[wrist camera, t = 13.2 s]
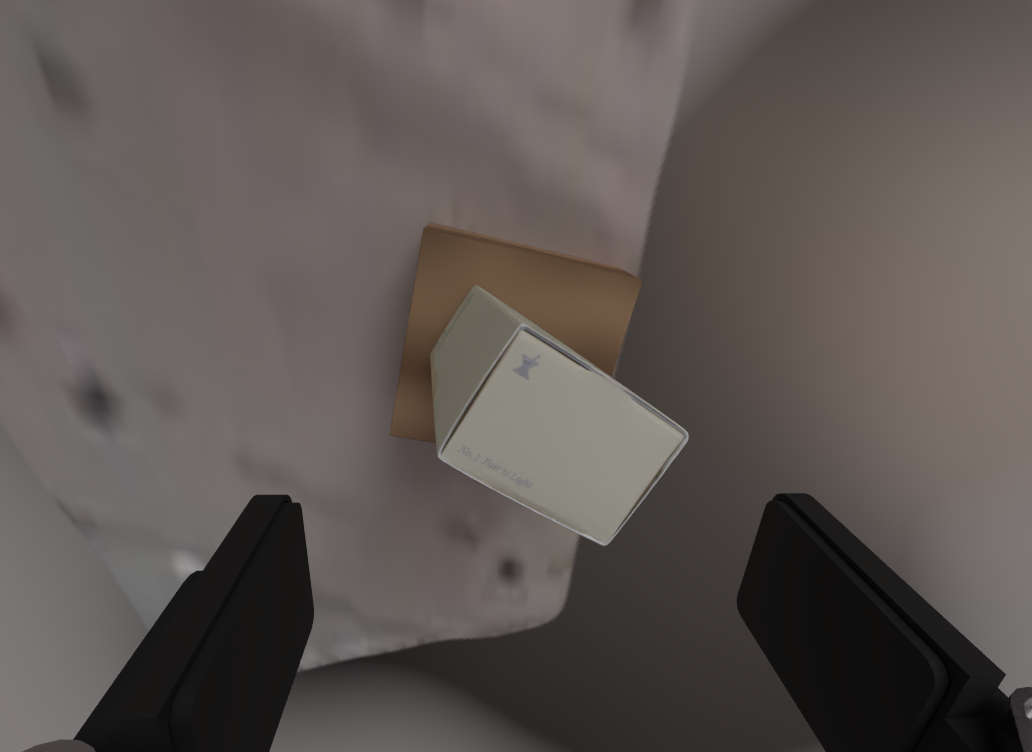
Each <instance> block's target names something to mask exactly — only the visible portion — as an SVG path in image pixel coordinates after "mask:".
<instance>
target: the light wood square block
mask: <svg viewBox="0 0 1032 752" xmlns="http://www.w3.org/2000/svg"><path fill="white" fill-rule="evenodd" d="M641 284H642V280H641V279H639V278H637V277H635V276H633V275H631V274H629V273H627V272H626V271H624V270H622V269H620V268H618V267H615V266H611V265H607V264H602V263H598V262H594V261H590V260H586V259H581V258H577V257H573V256H569V255H565V254H561V253H556V252H552V251H548V250H544V249H540V248H535V247H531V246H527V245H523V244H519V243H515V242H510V241H506V240H502V239H498V238H494V237H489V236H485V235H481V234H477V233H473V232H469V231H464V230H460V229H456V228H452V227H448V226H443V225H439V224H435V223H430V224H429V225H428V226H426V227H425V228H424V230H423V236H422V242H421V248H420V254H419V260H418V266H417V272H416V278H415V284H414V290H413V296H412V302H411V308H410V314H409V320H408V326H407V332H406V338H405V344H404V350H403V357H402V363H401V369H400V375H399V381H398V387H397V393H396V399H395V405H394V411H393V417H392V423H391V429H390V435H391V436H397V437H403V438H409V439H415V440H421V441H427V442H433V443H436V436H435V424H434V409H433V395H432V378H431V362H430V353H431V351H432V349H433V348H434V346H435V345H436V343H437V341H438V340H439V338H440V336H441V335H442V333H443V331H444V330H445V328H446V327H447V325H448V324H449V322H450V321H451V319H452V317H453V316H454V314H455V313H456V311H457V310H458V308H459V307H460V305H461V304H462V302H463V301H464V299H465V298H466V297H467V295H468V294H469V292H470V291H471V289H472V288H473V287H474V286H475V285H477V286H479V287H481V288H482V289H484V290H485V291H487V292H488V293H490V294H491V295H493V296H495V297H496V298H498V299H499V300H501V301H502V302H504V303H505V304H507V305H508V306H510V307H511V308H513V309H514V310H516V311H517V312H518V313H520V314H521V315H523V316H524V317H526V318H527V319H529V320H530V321H532V322H533V323H535V324H536V325H537V326H539V327H540V328H542V329H543V330H545V331H546V332H547V333H549V334H550V335H552V336H553V337H555V338H556V339H558V340H559V341H561V342H562V343H563V344H565V345H566V346H568V347H569V348H571V349H572V350H573V351H575V352H576V353H578V354H579V355H580V356H582V357H583V358H585V359H586V360H588V361H589V362H590V363H592V364H593V365H595V366H596V367H597V368H599V369H600V370H602V371H603V372H605V373H606V374H607V375H609V376H610V377H611V376H612V373H613V370H614V367H615V364H616V361H617V358H618V355H619V351H620V348H621V345H622V342H623V339H624V336H625V333H626V330H627V327H628V324H629V321H630V318H631V315H632V311H633V308H634V305H635V302H636V299H637V296H638V293H639V290H640V287H641Z"/></svg>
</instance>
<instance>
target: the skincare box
mask: <svg viewBox="0 0 1032 752" xmlns="http://www.w3.org/2000/svg"><path fill="white" fill-rule="evenodd" d="M430 362H431V378H432V395H433V409H434V424H435V436H436V451H437V457H438V458H439V459H440V460H442V461H443V462H445V463H446V464H448V465H450V466H452V467H453V468H455V469H456V470H458V471H460V472H462V473H464V474H465V475H467V476H468V477H470V478H472V479H474V480H476V481H477V482H479V483H481V484H483V485H485V486H487V487H488V488H490V489H492V490H494V491H496V492H498V493H500V494H501V495H503V496H505V497H507V498H509V499H511V500H513V501H514V502H516V503H518V504H520V505H523V506H525V507H526V508H528V509H530V510H532V511H534V512H536V513H537V514H540V515H542V516H544V517H546V518H548V519H550V520H552V521H554V522H556V523H558V524H559V525H561V526H564V527H566V528H568V529H570V530H572V531H574V532H576V533H578V534H580V535H582V536H584V537H585V538H588V539H590V540H592V541H594V542H597V543H599V544H601V545H603V546H605V545H608V544H609V542H611V540H612V539H613V538H614V536H615V535H616V534H617V533H618V532H619V530H620V529H621V528H622V526H623V525H624V524H625V522H626V521H627V520H628V519H629V517H630V516H631V515H632V514H633V512H634V511H635V510H636V508H637V507H638V506H639V505H640V503H641V502H642V501H643V499H644V498H645V497H646V496H647V494H648V493H649V492H650V490H651V489H652V488H653V486H654V485H655V484H656V483H657V481H658V480H659V479H660V477H661V476H662V475H663V473H664V472H665V471H666V469H667V468H668V467H669V465H670V464H671V462H672V461H673V460H674V459H675V457H676V456H677V455H678V454H679V452H680V451H681V449H682V448H683V447H684V445H685V444H686V442H687V441H688V438H689V436H688V432H686V430H685V429H683V428H682V427H681V426H679V425H678V424H677V423H675V422H674V421H673V420H671V419H670V418H668V417H667V416H666V415H664V414H663V413H661V412H660V411H659V410H657V409H656V408H654V407H653V406H652V405H650V404H649V403H647V402H646V401H644V400H643V399H642V398H640V397H639V396H637V395H636V394H634V393H633V392H632V391H630V390H629V389H627V388H626V387H625V386H623V385H622V384H620V383H619V382H617V381H616V380H615V379H613V378H612V377H610V376H609V375H607V374H606V373H605V372H603V371H602V370H600V369H599V368H597V367H596V366H595V365H593V364H592V363H590V362H589V361H588V360H586V359H585V358H583V357H582V356H580V355H579V354H578V353H576V352H575V351H573V350H572V349H571V348H569V347H568V346H566V345H565V344H563V343H562V342H561V341H559V340H558V339H556V338H555V337H553V336H552V335H550V334H549V333H547V332H546V331H545V330H543V329H542V328H540V327H539V326H537V325H536V324H535V323H533V322H532V321H530V320H529V319H527V318H526V317H524V316H523V315H521V314H520V313H518V312H517V311H516V310H514V309H513V308H511V307H510V306H508V305H507V304H505V303H504V302H502V301H501V300H499V299H498V298H496V297H495V296H493V295H491V294H490V293H488V292H487V291H485V290H484V289H482V288H481V287H479V286H477V285H475V286H474V287H473V288H472V289H471V291H470V292H469V294H468V295H467V297H466V298H465V299H464V301H463V302H462V304H461V305H460V307H459V308H458V310H457V311H456V313H455V314H454V316H453V317H452V319H451V321H450V322H449V324H448V325H447V327H446V328H445V330H444V331H443V333H442V335H441V336H440V338H439V340H438V341H437V343H436V345H435V346H434V348H433V349H432V351H431V353H430Z"/></svg>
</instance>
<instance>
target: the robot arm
mask: <svg viewBox="0 0 1032 752" xmlns="http://www.w3.org/2000/svg"><path fill="white" fill-rule="evenodd" d="M737 607H738V610H739V613H740V615H741V617H742V619H743V620H744V622H745V624H746V625H747V627H748V628H749V630H750V632H751V633H752V635H753V636H754V638H755V640H756V641H757V643H758V644H759V646H760V648H761V649H762V651H763V652H764V654H765V655H766V657H767V659H768V660H769V662H770V663H771V665H772V667H773V668H774V670H775V671H776V673H777V675H778V676H779V678H780V679H781V681H782V683H783V684H784V686H785V687H786V689H787V691H788V692H789V694H790V695H791V697H792V699H793V700H794V702H795V703H796V705H797V707H798V708H799V710H800V711H801V713H802V714H803V716H804V717H805V719H806V721H807V722H808V724H809V726H810V727H811V729H812V730H813V732H814V734H815V735H816V737H817V738H818V740H819V742H820V743H821V745H822V746H823V748H824V749H825V751H826V752H1032V687H1023V688H1018V689H1016V690H1015V691H1014V692H1013V693H1012V694H1011V695H1010V696H1009V698H1008V697H1007V696H1006V695H1005V694H1004V693H1003V692H1002V691H1001V690H1000V689H999V688H998V686H999V685H1000V683H1001V681H1002V680H1003V678H1004V677H1005V675H1006V674H1005V673H1004V672H1003V671H1002V670H1001V669H999V668H998V667H997V666H996V665H995V664H994V663H993V662H992V661H991V660H990V659H989V658H987V657H986V656H985V655H984V654H983V653H982V652H981V651H980V650H979V649H978V648H977V647H975V646H974V645H973V644H972V643H971V642H970V641H969V640H968V639H967V638H965V636H964V635H962V634H961V633H960V632H959V631H958V630H957V629H956V628H955V627H954V626H952V625H951V624H950V623H949V622H948V621H947V620H946V619H945V618H944V617H943V616H942V615H940V613H938V612H937V611H936V610H935V609H934V608H933V607H932V606H931V605H930V604H928V603H927V602H926V601H925V600H924V599H923V598H922V597H921V596H920V595H919V594H918V593H917V592H916V591H914V590H913V589H912V588H911V587H910V586H909V585H908V584H907V583H906V582H905V581H904V580H902V579H901V578H900V577H899V576H898V575H897V574H896V573H895V572H894V571H893V570H891V568H889V567H888V566H887V565H886V564H885V563H884V562H883V561H882V560H881V559H880V558H879V557H877V556H876V555H875V554H874V553H873V552H872V551H871V550H870V549H869V548H868V547H867V546H865V545H864V544H863V543H862V542H861V541H860V540H859V539H858V538H857V537H856V536H854V535H853V534H852V533H851V532H850V531H849V530H848V529H847V528H846V527H845V526H844V525H843V524H842V523H840V522H839V521H838V520H837V519H836V518H835V517H834V516H833V515H832V514H831V513H830V512H828V511H827V510H826V509H825V508H824V507H823V506H822V505H821V504H820V503H818V501H816V500H815V499H814V498H813V497H812V496H810V495H808V494H804V493H801V494H800V493H789V494H787V493H784V494H783V493H782V494H777V495H776V496H775V497H774V498H773V500H772V501H769V502H768V503H767V505H766V507H765V510H764V513H763V516H762V519H761V522H760V526H759V529H758V532H757V535H756V538H755V541H754V545H753V548H752V551H751V555H750V557H749V561H748V564H747V567H746V570H745V573H744V576H743V580H742V583H741V586H740V589H739V592H738V596H737ZM313 618H314V605H313V597H312V589H311V581H310V573H309V564H308V556H307V548H306V540H305V532H304V524H303V515H302V508H301V505H300V503H292V500H291V498H290V496H289V495H255V496H254V497H253V498H252V499H251V500H250V502H249V503H248V505H247V506H246V507H245V509H244V510H243V512H242V513H241V515H240V516H239V518H238V519H237V521H236V522H235V524H234V525H233V527H232V528H231V530H230V531H229V533H228V534H227V536H226V537H225V539H224V540H223V542H222V543H221V545H220V546H219V548H218V549H217V551H216V552H215V553H214V555H213V556H212V558H211V559H210V561H209V562H208V564H207V565H206V567H205V568H204V570H203V571H196V572H194V573H192V574H191V575H190V576H189V577H188V578H187V579H186V580H185V581H184V582H183V584H182V585H181V587H180V588H179V590H178V591H177V592H176V594H175V595H174V597H173V598H172V599H171V601H170V602H169V604H168V605H167V607H166V608H165V609H164V611H163V612H162V614H161V615H160V617H159V618H158V619H157V621H156V622H155V624H154V625H153V627H152V628H151V629H150V631H149V632H148V634H147V635H146V637H145V638H144V639H143V641H142V642H141V644H140V645H139V646H138V648H137V649H136V651H135V652H134V654H133V655H132V657H131V658H130V659H129V661H128V662H127V664H126V665H125V667H124V668H123V669H122V671H121V672H120V674H119V675H118V676H117V678H116V679H115V681H114V682H113V684H112V685H111V686H110V688H109V689H108V691H107V692H106V693H105V695H104V696H103V698H102V699H101V701H100V702H99V704H98V705H97V706H96V708H95V709H94V711H93V712H92V713H91V715H90V716H89V718H88V719H87V721H86V722H85V723H84V725H83V726H82V728H81V729H80V731H79V732H78V734H77V735H76V736H75V738H74V739H73V740H56V741H52V742H48V743H44V744H40V745H36V746H34V747H32V748H30V749H27V750H25V751H23V752H269V751H270V748H271V745H272V742H273V739H274V736H275V733H276V730H277V728H278V725H279V722H280V719H281V716H282V713H283V710H284V707H285V704H286V702H287V699H288V695H289V693H290V690H291V687H292V684H293V681H294V678H295V675H296V673H297V670H298V667H299V664H300V661H301V658H302V655H303V652H304V649H305V646H306V644H307V641H308V638H309V635H310V632H311V629H312V624H313Z"/></svg>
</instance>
